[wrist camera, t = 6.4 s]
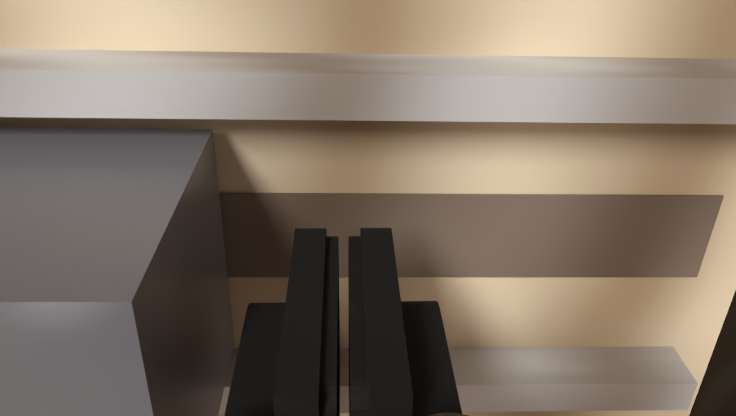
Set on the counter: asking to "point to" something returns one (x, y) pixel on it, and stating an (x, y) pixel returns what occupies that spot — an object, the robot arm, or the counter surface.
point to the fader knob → (112, 273)
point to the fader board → (445, 166)
